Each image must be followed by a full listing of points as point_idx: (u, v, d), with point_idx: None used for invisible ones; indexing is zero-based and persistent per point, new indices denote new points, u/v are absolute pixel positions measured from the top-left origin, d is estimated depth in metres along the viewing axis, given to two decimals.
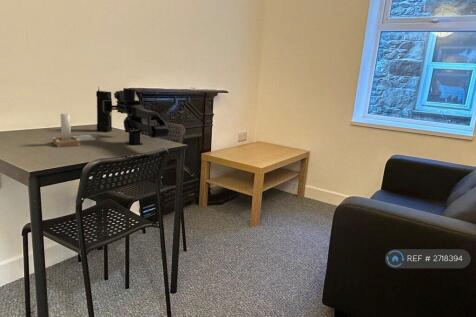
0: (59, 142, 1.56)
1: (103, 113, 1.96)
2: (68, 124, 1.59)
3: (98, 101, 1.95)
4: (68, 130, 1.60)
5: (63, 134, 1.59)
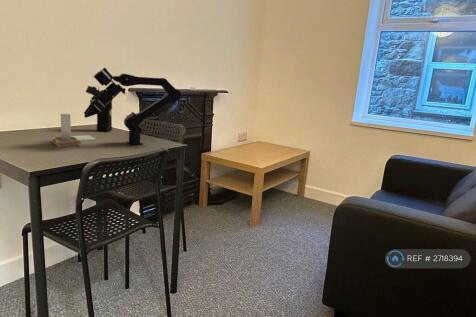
0: (59, 142, 1.56)
1: (103, 113, 1.96)
2: (68, 124, 1.59)
3: None
4: (68, 130, 1.60)
5: (63, 134, 1.59)
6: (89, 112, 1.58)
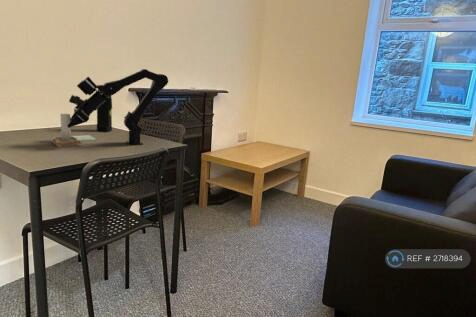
0: (59, 142, 1.56)
1: (103, 113, 1.96)
2: None
3: None
4: (68, 130, 1.60)
5: (63, 134, 1.59)
6: (72, 122, 1.56)
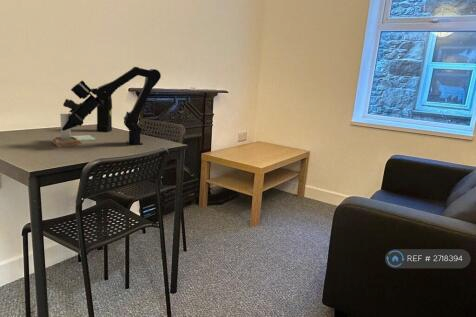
0: (59, 142, 1.56)
1: (103, 113, 1.96)
2: None
3: None
4: (68, 130, 1.60)
5: (63, 134, 1.59)
6: (66, 125, 1.57)
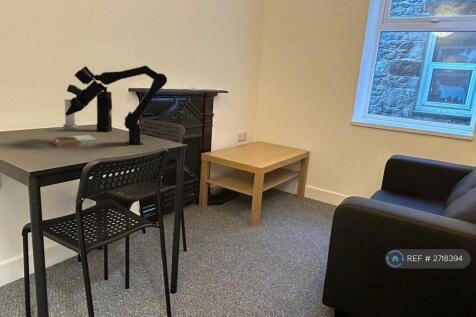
0: (59, 142, 1.56)
1: (103, 113, 1.96)
2: None
3: (98, 101, 1.95)
4: (71, 115, 1.63)
5: (67, 119, 1.63)
6: (69, 110, 1.61)
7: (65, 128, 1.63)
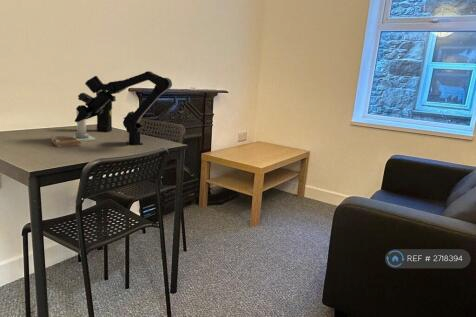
0: (59, 142, 1.56)
1: (103, 113, 1.96)
2: None
3: None
4: (82, 124, 1.73)
5: (78, 128, 1.73)
6: (78, 117, 1.69)
7: (76, 136, 1.73)
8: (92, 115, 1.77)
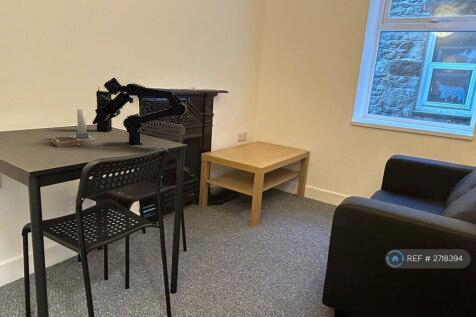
0: (59, 142, 1.56)
1: None
2: (82, 119, 1.72)
3: None
4: (82, 124, 1.73)
5: (78, 128, 1.73)
6: (95, 119, 1.68)
7: (76, 136, 1.73)
8: (110, 117, 1.78)
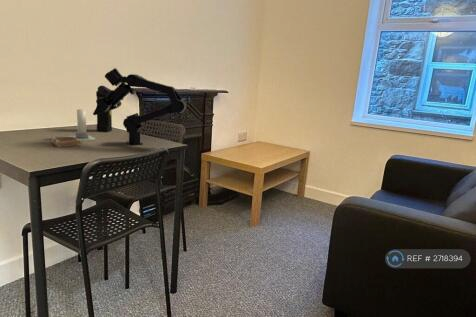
0: (59, 142, 1.56)
1: (103, 113, 1.96)
2: (82, 119, 1.72)
3: None
4: (82, 124, 1.73)
5: (78, 128, 1.73)
6: (96, 110, 1.67)
7: (76, 136, 1.73)
8: (111, 108, 1.77)
